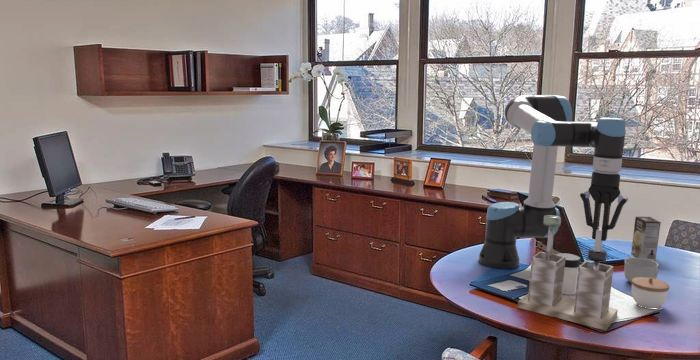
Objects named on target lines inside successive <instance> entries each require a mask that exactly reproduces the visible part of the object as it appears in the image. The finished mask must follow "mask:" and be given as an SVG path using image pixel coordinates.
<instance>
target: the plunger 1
mask: <svg viewBox="0 0 700 360" xmlns="http://www.w3.org/2000/svg"><path fill="white" fill-rule="evenodd" d="M561 222H562V217H561V216H554V215H545V216H544V221H543V224H544V225H546V226H549V230H548V237H547V243H546V252H545V253H546V260H549V261H551V257H552V254H553V247H554V246H553V244H554V236H555V234H554V227H559V228H560V226H561V224H562V223H561Z"/></svg>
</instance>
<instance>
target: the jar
mask: <svg viewBox="0 0 700 360" xmlns="http://www.w3.org/2000/svg"><path fill="white" fill-rule="evenodd" d="M555 255H560V256H565V257H566V258H565V269H564V279H563V289H562V295H570V296H576V286H577V276H578V267H579V266H580V265H581V257H580V256H578V255H576V254H572V253H567V252H566V253H565V252H564V253H563V252H561V253H556V254H555Z"/></svg>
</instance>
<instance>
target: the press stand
mask: <svg viewBox="0 0 700 360" xmlns="http://www.w3.org/2000/svg"><path fill="white" fill-rule="evenodd" d="M565 258H566V257H565V256H560V255H556V254H554V253H552V257H551V261H549V260H546V252H543V251H539V252H538V253H536V254H534V255H533V256H531V260H530V261H531V262H530V270H529V282H528V283H529V284H528V293H527V294H526V295H525V296H523V297H522V298H521V299H519V300H518V301H517V308H518V309H522V310H526V311H529V312H533V313H536V314H540V315H545V316H549V317H552V318H557V319H560V320H564V321H567V322H568V321H569V322H572V323H575V324H579V325H582V326H583V325H584V326H587V327H590V328H595V329H598V330H603V331H608V329H609V327H610V326H611V325H612V323H613V322H614V320H615V319H616V317H617V316H618V311H619V309H618V308H616V307H615V308H614V307H610V301H611V300H610V299H611V293H612V283H613V274H614V265H609V264H604V263H600V262H599V271H597V270H593V263H594V261H591V260H590V261H589V260H585V261H583V263H580V266H579V267H578V276H577V286H576V294H575V295H574V296H575V297H574V298H573V297H568V296H564V295H563V294H562V289H563V279H564V269H565ZM612 321H613V322H612Z"/></svg>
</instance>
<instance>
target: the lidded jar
mask: <svg viewBox="0 0 700 360" xmlns="http://www.w3.org/2000/svg"><path fill="white" fill-rule="evenodd" d="M669 290H670V285H669V284H668V283H667V282H666V281H663V280H661V279H658V278H657V279H654V278H652V277H649V278H647V277H636V278H633V279H632V283H631V295H632V296H631V297H632V299H633V300H634V301H635V303H636V305H637V304H638V305H640V306H642V307H646V308H658V309H659V308H660V307H662V305H664V304H665V302H667V299H668V295H669ZM638 305H637V306H638ZM640 306H639V307H640ZM642 307H641V308H642ZM646 308H645V309H646Z"/></svg>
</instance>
